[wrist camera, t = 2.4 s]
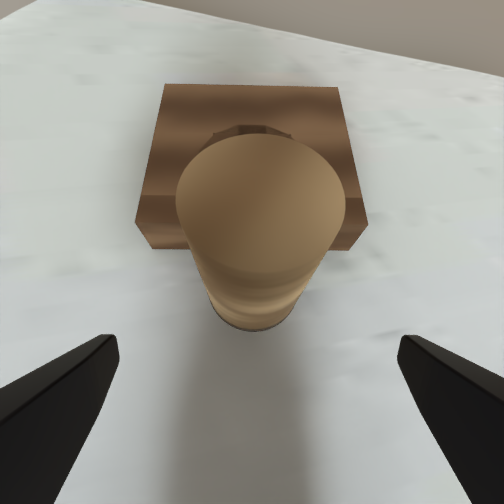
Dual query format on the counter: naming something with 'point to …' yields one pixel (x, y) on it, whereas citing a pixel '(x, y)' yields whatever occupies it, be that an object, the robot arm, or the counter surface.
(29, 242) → the counter surface
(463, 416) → the robot arm
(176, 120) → the seat block
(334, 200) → the dowel
